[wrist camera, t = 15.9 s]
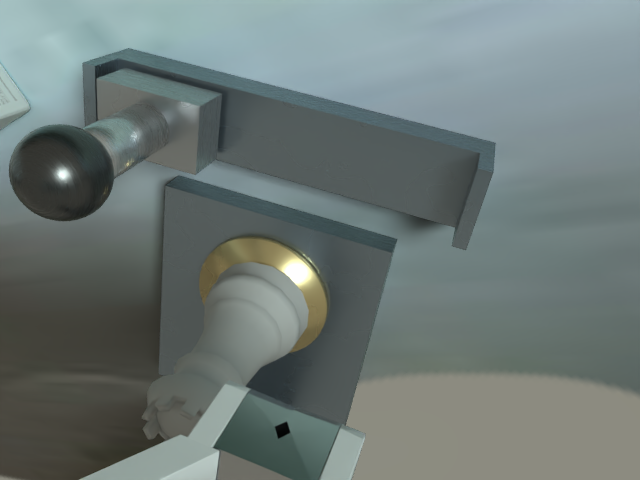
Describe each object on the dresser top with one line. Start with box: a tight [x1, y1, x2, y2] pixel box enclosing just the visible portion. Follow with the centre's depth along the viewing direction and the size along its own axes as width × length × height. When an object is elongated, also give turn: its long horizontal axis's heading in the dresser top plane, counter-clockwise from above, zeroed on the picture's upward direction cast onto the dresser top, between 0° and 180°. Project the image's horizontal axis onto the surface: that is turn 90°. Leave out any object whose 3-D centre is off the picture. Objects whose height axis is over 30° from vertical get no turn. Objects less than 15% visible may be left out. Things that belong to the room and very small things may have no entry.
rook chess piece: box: [142, 262, 309, 441], centre depth 22 cm, size 4×4×8 cm
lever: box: [9, 68, 222, 221], centre depth 19 cm, size 4×3×8 cm
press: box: [83, 48, 496, 426], centre depth 20 cm, size 15×20×18 cm
